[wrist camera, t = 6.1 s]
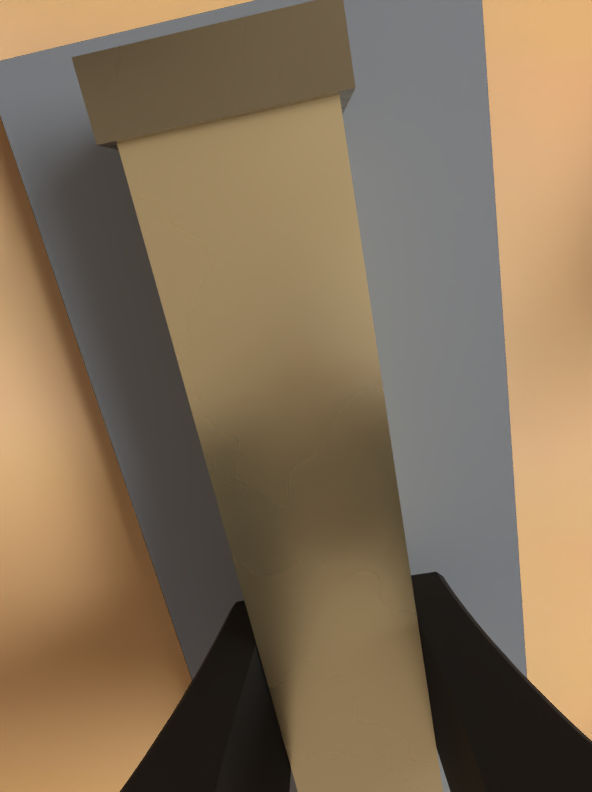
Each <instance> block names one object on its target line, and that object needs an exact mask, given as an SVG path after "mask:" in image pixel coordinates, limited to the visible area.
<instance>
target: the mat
mask: <svg viewBox="0 0 592 792" xmlns="http://www.w3.org/2000/svg"><path fill="white" fill-rule="evenodd" d="M310 1H314V0H255V1H251V2H246V3H242V4H238V5H234V6H229V7H225V8H221V9H217V10H213V11H208V12H204V13H200V14H196V15H191V16H187V17H183V18H179V19H174V20H170V21H166V22H162V23H158V24H153V25H149V26H145V27H141V28H136V29H132V30H128V31H124V32H120V33H115V34H111V35H107V36H103V37H98V38H94V39H90V40H86V41H81V42H77V43H73V44H69V45H65V46H60V47H56V48H52V49H48V50H43V51H39V52H35V53H31V54H27V55H22V56H18V57H14V58H10V59H5V60H1V61H0V116H1V119H2V122H3V125H4V128H5V131H6V134H7V137H8V140H9V143H10V146H11V149H12V151H13V154H14V157H15V160H16V163H17V166H18V169H19V172H20V175H21V178H22V181H23V184H24V187H25V190H26V193H27V196H28V199H29V202H30V204H31V207H32V210H33V213H34V216H35V219H36V222H37V225H38V228H39V231H40V234H41V237H42V240H43V243H44V246H45V249H46V252H47V254H48V257H49V260H50V263H51V266H52V269H53V272H54V275H55V278H56V281H57V284H58V287H59V290H60V293H61V296H62V299H63V302H64V305H65V307H66V310H67V313H68V316H69V319H70V322H71V325H72V328H73V331H74V334H75V337H76V340H77V343H78V346H79V349H80V352H81V355H82V357H83V360H84V363H85V366H86V369H87V372H88V375H89V378H90V381H91V384H92V387H93V390H94V393H95V396H96V399H97V402H98V405H99V408H100V410H101V413H102V416H103V419H104V422H105V425H106V428H107V431H108V434H109V437H110V440H111V443H112V446H113V449H114V452H115V455H116V458H117V460H118V463H119V466H120V469H121V472H122V475H123V478H124V481H125V484H126V487H127V490H128V493H129V496H130V499H131V502H132V505H133V508H134V511H135V513H136V516H137V519H138V522H139V525H140V528H141V531H142V534H143V537H144V540H145V543H146V546H147V549H148V552H149V555H150V558H151V561H152V564H153V566H154V569H155V572H156V575H157V578H158V581H159V584H160V587H161V590H162V593H163V596H164V599H165V602H166V605H167V608H168V611H169V614H170V616H171V619H172V622H173V625H174V628H175V631H176V634H177V637H178V640H179V643H180V646H181V649H182V652H183V655H184V658H185V661H186V664H187V667H188V669H189V672H190V675H191V678H192V680H193V678H194V677H195V675H196V673H197V671H198V670H199V668H200V666H201V665H202V663H203V661H204V659H205V657H206V655H207V654H208V652H209V650H210V648H211V646H212V644H213V643H214V641H215V639H216V637H217V635H218V633H219V631H220V629H221V627H222V626H223V624H224V622H225V620H226V618H227V616H228V614H229V612H230V610H231V608H232V607H233V605H234V604H235V603H236V602H238V601H244V597H243V594H242V590H241V587H240V583H239V579H238V576H237V572H236V569H235V565H234V562H233V558H232V554H231V551H230V547H229V544H228V540H227V536H226V533H225V529H224V526H223V522H222V519H221V515H220V511H219V508H218V504H217V501H216V497H215V493H214V490H213V486H212V483H211V479H210V476H209V472H208V468H207V465H206V461H205V458H204V454H203V450H202V447H201V443H200V440H199V436H198V433H197V429H196V425H195V422H194V418H193V415H192V411H191V407H190V404H189V400H188V397H187V393H186V390H185V386H184V382H183V379H182V375H181V372H180V368H179V364H178V361H177V357H176V354H175V350H174V347H173V343H172V339H171V336H170V332H169V329H168V325H167V321H166V318H165V314H164V311H163V307H162V304H161V300H160V296H159V293H158V289H157V286H156V282H155V278H154V275H153V271H152V268H151V264H150V261H149V257H148V253H147V250H146V246H145V243H144V239H143V235H142V232H141V228H140V225H139V221H138V218H137V214H136V210H135V207H134V203H133V200H132V196H131V193H130V189H129V185H128V182H127V178H126V175H125V171H124V167H123V164H122V160H121V157H120V153H119V150H115V149H111V148H107V147H103V146H99V145H97V144H96V141H95V137H94V134H93V130H92V127H91V123H90V120H89V116H88V113H87V110H86V106H85V103H84V99H83V96H82V92H81V89H80V86H79V82H78V79H77V75H76V72H75V68H74V65H73V61H72V58H71V57H75V56H79V55H84V54H88V53H92V52H97V51H101V50H105V49H109V48H114V47H118V46H122V45H126V44H131V43H135V42H139V41H143V40H148V39H152V38H156V37H160V36H165V35H169V34H173V33H178V32H182V31H186V30H190V29H195V28H199V27H203V26H207V25H212V24H216V23H220V22H224V21H229V20H233V19H237V18H241V17H246V16H250V15H254V14H259V13H263V12H267V11H271V10H276V9H280V8H284V7H288V6H293V5H297V4H301V3H305V2H310ZM343 1H344V8H345V15H346V22H347V30H348V37H349V44H350V51H351V58H352V66H353V73H354V80H355V87H356V88H355V90H354V92H353V94H352V96H351V98H350V100H349V102H348V105H347V107H346V109H345V111H344V113H343V122H344V129H345V135H346V142H347V149H348V156H349V162H350V169H351V176H352V182H353V189H354V196H355V203H356V209H357V216H358V223H359V230H360V236H361V243H362V250H363V256H364V263H365V270H366V277H367V283H368V290H369V297H370V304H371V310H372V317H373V324H374V331H375V337H376V344H377V351H378V357H379V364H380V371H381V378H382V384H383V391H384V398H385V405H386V411H387V418H388V425H389V431H390V438H391V445H392V452H393V458H394V465H395V472H396V479H397V485H398V492H399V499H400V505H401V512H402V519H403V526H404V532H405V539H406V546H407V553H408V559H409V566H410V573H411V575H416V574H423V573H430V572H438V573H439V574H441V575H442V576H443V577H444V578H445V580H446V582H447V583H448V585H449V586H450V587H451V589H452V590H453V592H454V593H455V595H456V596H457V597H458V599H459V600H460V601H461V603H462V604H463V605H464V607H465V608H466V609H467V610H468V612H469V613H470V614H471V615H472V617H473V618H474V619H475V620H476V622H477V623H478V624H479V625H480V627H481V628H482V629H483V630H484V631H485V632H486V634H487V635H488V636H489V637H490V638H491V640H492V641H493V642H494V643H495V644H496V645H497V646H498V647H499V648H500V650H501V651H502V652H503V653H504V654H505V655H506V656H507V657H508V658H509V660H510V661H511V662H512V663H513V664H514V665H515V666H516V667H517V668H518V669H519V671H520V672H521V673H522V674H523V675H524V676H525V677H526V678H527V671H526V656H525V641H524V625H523V610H522V595H521V580H520V565H519V550H518V535H517V520H516V505H515V490H514V475H513V460H512V445H511V430H510V415H509V399H508V384H507V369H506V354H505V339H504V324H503V309H502V294H501V279H500V264H499V249H498V234H497V219H496V204H495V189H494V173H493V158H492V143H491V128H490V113H489V98H488V83H487V68H486V53H485V38H484V23H483V8H482V0H343ZM437 754H438V751H437ZM438 761H439V768H440V775H441V781H442V788H443V792H450V789H449V785H448V782H447V779H446V776H445V773H444V770H443V767H442V764H441V761H440V757H439V754H438ZM289 792H298V791H297V787H296V784H295V780H294V777H293V773H292V769H291V777H290V791H289Z"/></svg>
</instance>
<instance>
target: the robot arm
mask: <svg viewBox="0 0 592 792" xmlns="http://www.w3.org/2000/svg"><path fill="white" fill-rule="evenodd" d="M411 579H412V586H413V593H414V600H415V606H416V613H417V620H418V627H419V633H420V640H421V647H422V653H423V660H424V667H425V674H426V680H427V687H428V694H429V701H430V707H431V714H432V721H433V728H434V734H435V741H436V748H437V751H438V754H439V757H440V761H441V764H442V767H443V770H444V773H445V776H446V779H447V782H448V785H449V789H450V792H592V741H591V740H590V739H589V738H588V737H587V736H585V735H584V734H583V733H582V732H581V731H580V730H579V729H578V728H577V727H576V726H575V725H574V724H572V723H571V722H570V721H569V720H568V719H567V718H566V717H565V716H564V715H563V714H562V713H561V712H560V711H559V710H558V709H557V708H556V707H555V706H554V705H553V704H552V703H551V702H550V701H549V700H548V699H547V698H546V697H545V696H544V695H543V694H542V693H541V692H540V691H539V690H538V689H537V688H536V687H535V686H534V685H533V684H532V683H531V682H530V681H529V680H528V679H527V678H526V677H525V676H524V675H523V674H522V673H521V672H520V671H519V669H518V668H517V667H516V666H515V665H514V664H513V663H512V662H511V661H510V660H509V658H508V657H507V656H506V655H505V654H504V653H503V652H502V651H501V650H500V648H499V647H498V646H497V645H496V644H495V643H494V642H493V641H492V640H491V638H490V637H489V636H488V635H487V634H486V632H485V631H484V630H483V629H482V628H481V627H480V625H479V624H478V623H477V622H476V620H475V619H474V618H473V617H472V615H471V614H470V613H469V612H468V610H467V609H466V608H465V607H464V605H463V604H462V603H461V601H460V600H459V599H458V597H457V596H456V595H455V593H454V592H453V590H452V589H451V587H450V586H449V585H448V583H447V582H446V580H445V578H444V577H443V576H442V575H441V574H439V573H438V572H430V573H423V574H416V575H411ZM290 777H291V766H290V762H289V759H288V755H287V751H286V748H285V744H284V741H283V737H282V734H281V730H280V726H279V723H278V719H277V716H276V712H275V708H274V705H273V701H272V698H271V694H270V691H269V687H268V683H267V680H266V676H265V673H264V669H263V665H262V662H261V658H260V655H259V651H258V648H257V644H256V640H255V637H254V633H253V630H252V626H251V622H250V619H249V615H248V612H247V608H246V605H245V601H238V602H236V603H235V604H234V605H233V607H232V608H231V610H230V612H229V614H228V616H227V618H226V620H225V622H224V624H223V626H222V627H221V629H220V631H219V633H218V635H217V637H216V639H215V641H214V643H213V644H212V646H211V648H210V650H209V652H208V654H207V655H206V657H205V659H204V661H203V663H202V665H201V666H200V668H199V670H198V671H197V673H196V675H195V677H194V678H193V680H192V682H191V683H190V685H189V687H188V689H187V690H186V692H185V694H184V695H183V697H182V699H181V700H180V702H179V704H178V705H177V707H176V709H175V710H174V712H173V714H172V715H171V717H170V718H169V720H168V721H167V723H166V724H165V726H164V727H163V729H162V730H161V732H160V734H159V735H158V737H157V738H156V740H155V741H154V743H153V744H152V746H151V747H150V749H149V750H148V752H147V754H146V755H145V757H144V758H143V760H142V761H141V762H140V764H139V765H138V767H137V768H136V770H135V771H134V772H133V774H132V775H131V777H130V778H129V780H128V781H127V782H126V784H125V785H124V786H123V788H122V789H121V791H120V792H289V791H290Z"/></svg>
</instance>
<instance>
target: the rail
mask: <svg viewBox="0 0 592 792" xmlns="http://www.w3.org/2000/svg"><path fill="white" fill-rule="evenodd" d="M71 58H72V61H73V65H74V68H75V72H76V75H77V79H78V82H79V86H80V89H81V92H82V96H83V99H84V103H85V106H86V110H87V113H88V116H89V120H90V123H91V127H92V130H93V134H94V137H95V141H96V144H97V145H99V146H103V147H107V148H111V149H115V150H119V153H120V157H121V160H122V164H123V167H124V171H125V175H126V178H127V182H128V185H129V189H130V193H131V196H132V200H133V203H134V207H135V210H136V214H137V218H138V221H139V225H140V228H141V232H142V235H143V239H144V243H145V246H146V250H147V253H148V257H149V261H150V264H151V268H152V271H153V275H154V278H155V282H156V286H157V289H158V293H159V296H160V300H161V304H162V307H163V311H164V314H165V318H166V321H167V325H168V329H169V332H170V336H171V339H172V343H173V347H174V350H175V354H176V357H177V361H178V364H179V368H180V372H181V375H182V379H183V382H184V386H185V390H186V393H187V397H188V400H189V404H190V407H191V411H192V415H193V418H194V422H195V425H196V429H197V433H198V436H199V440H200V443H201V447H202V450H203V454H204V458H205V461H206V465H207V468H208V472H209V476H210V479H211V483H212V486H213V490H214V493H215V497H216V501H217V504H218V508H219V511H220V515H221V519H222V522H223V526H224V529H225V533H226V536H227V540H228V544H229V547H230V551H231V554H232V558H233V562H234V565H235V569H236V572H237V576H238V579H239V583H240V587H241V590H242V594H243V597H244V601H245V605H246V608H247V612H248V615H249V619H250V622H251V626H252V630H253V633H254V637H255V640H256V644H257V648H258V651H259V655H260V658H261V662H262V665H263V669H264V673H265V676H266V680H267V683H268V687H269V691H270V694H271V698H272V701H273V705H274V708H275V712H276V716H277V719H278V723H279V726H280V730H281V734H282V737H283V741H284V744H285V748H286V751H287V755H288V759H289V762H290V766H291V769H292V773H293V777H294V780H295V784H296V787H297V791H298V792H443V788H442V781H441V775H440V768H439V761H438V754H437V748H436V741H435V734H434V728H433V721H432V714H431V707H430V701H429V694H428V687H427V680H426V674H425V667H424V660H423V653H422V647H421V640H420V633H419V627H418V620H417V613H416V606H415V600H414V593H413V586H412V579H411V573H410V566H409V559H408V553H407V546H406V539H405V532H404V526H403V519H402V512H401V505H400V499H399V492H398V485H397V479H396V472H395V465H394V458H393V452H392V445H391V438H390V431H389V425H388V418H387V411H386V405H385V398H384V391H383V384H382V378H381V371H380V364H379V357H378V351H377V344H376V337H375V331H374V324H373V317H372V310H371V304H370V297H369V290H368V283H367V277H366V270H365V263H364V256H363V250H362V243H361V236H360V230H359V223H358V216H357V209H356V203H355V196H354V189H353V182H352V176H351V169H350V162H349V156H348V149H347V142H346V135H345V129H344V122H343V113H344V111H345V109H346V107H347V105H348V102H349V100H350V98H351V96H352V94H353V92H354V90H355V88H356V87H355V80H354V73H353V66H352V58H351V51H350V44H349V37H348V30H347V22H346V15H345V8H344V1H343V0H314V1H310V2H305V3H301V4H297V5H293V6H288V7H284V8H280V9H276V10H271V11H267V12H263V13H259V14H254V15H250V16H246V17H241V18H237V19H233V20H229V21H224V22H220V23H216V24H212V25H207V26H203V27H199V28H195V29H190V30H186V31H182V32H178V33H173V34H169V35H165V36H160V37H156V38H152V39H148V40H143V41H139V42H135V43H131V44H126V45H122V46H118V47H114V48H109V49H105V50H101V51H97V52H92V53H88V54H84V55H79V56H75V57H71Z"/></svg>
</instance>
